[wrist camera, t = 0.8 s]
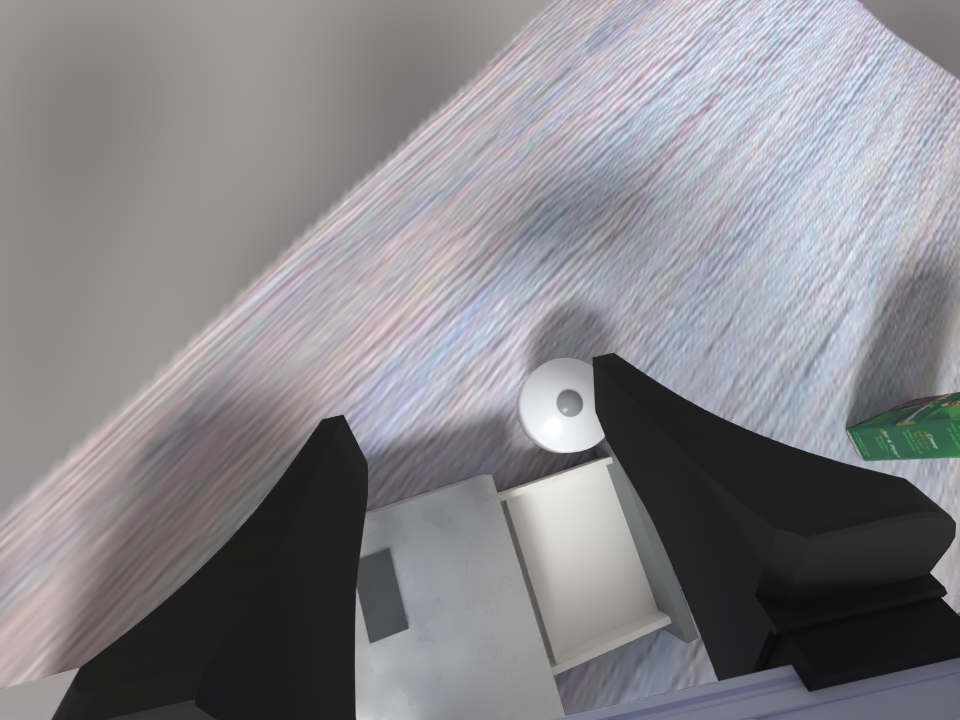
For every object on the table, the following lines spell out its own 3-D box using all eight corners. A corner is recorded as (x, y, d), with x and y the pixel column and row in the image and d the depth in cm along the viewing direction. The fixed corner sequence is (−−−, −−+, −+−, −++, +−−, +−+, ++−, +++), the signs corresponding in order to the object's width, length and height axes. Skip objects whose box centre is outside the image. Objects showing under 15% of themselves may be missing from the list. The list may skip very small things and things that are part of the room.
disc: (614, 437, 28) (628, 435, 26) (533, 465, 26) (542, 464, 25) (584, 355, 29) (595, 347, 27) (504, 377, 28) (511, 370, 26)
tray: (667, 620, 28) (698, 637, 25) (513, 689, 26) (526, 717, 23) (603, 443, 31) (624, 439, 28) (456, 492, 28) (461, 494, 25)
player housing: (543, 684, 27) (568, 724, 22) (363, 766, 24) (353, 827, 20) (480, 474, 29) (492, 474, 25) (311, 529, 27) (293, 539, 23)
